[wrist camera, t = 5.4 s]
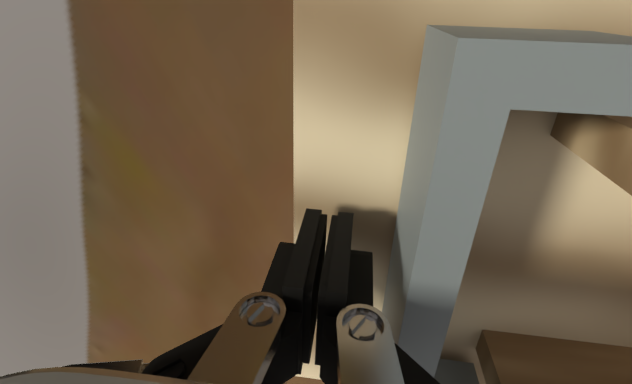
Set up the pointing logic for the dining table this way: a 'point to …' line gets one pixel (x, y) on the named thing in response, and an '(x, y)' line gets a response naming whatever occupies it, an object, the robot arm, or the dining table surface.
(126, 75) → the dining table surface
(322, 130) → the board
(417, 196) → the grey bracket
